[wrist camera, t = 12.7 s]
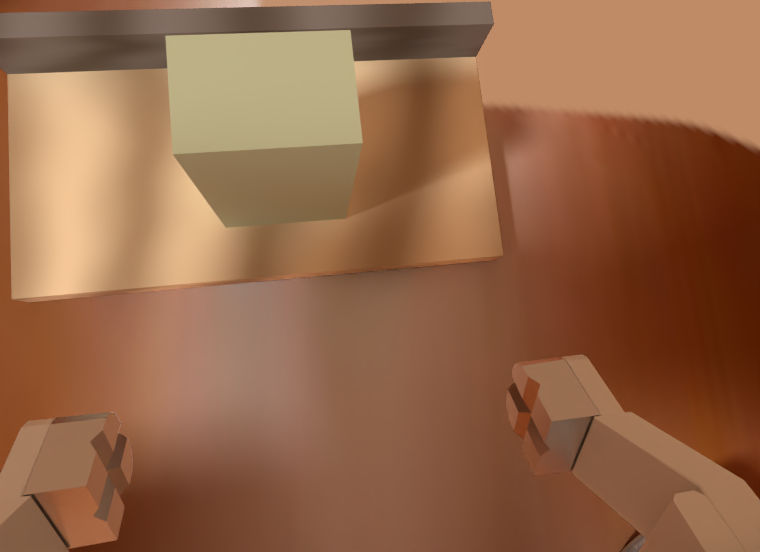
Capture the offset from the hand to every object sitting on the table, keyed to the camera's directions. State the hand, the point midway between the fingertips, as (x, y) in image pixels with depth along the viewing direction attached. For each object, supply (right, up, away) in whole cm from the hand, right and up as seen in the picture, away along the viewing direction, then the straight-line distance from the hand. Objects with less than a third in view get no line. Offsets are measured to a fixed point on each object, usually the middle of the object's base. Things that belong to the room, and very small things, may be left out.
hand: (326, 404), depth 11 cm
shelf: (-5, +9, +18) cm, 20 cm away
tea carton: (-4, +7, +16) cm, 18 cm away
